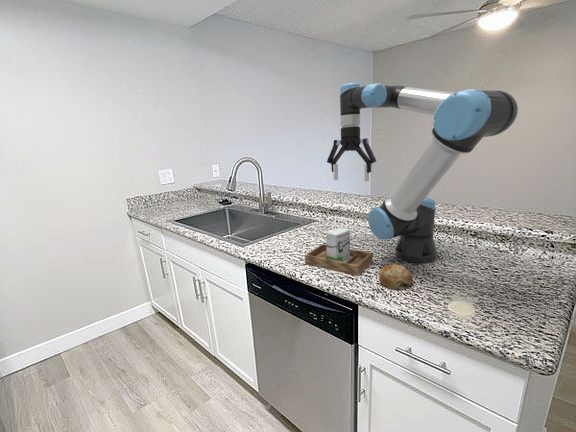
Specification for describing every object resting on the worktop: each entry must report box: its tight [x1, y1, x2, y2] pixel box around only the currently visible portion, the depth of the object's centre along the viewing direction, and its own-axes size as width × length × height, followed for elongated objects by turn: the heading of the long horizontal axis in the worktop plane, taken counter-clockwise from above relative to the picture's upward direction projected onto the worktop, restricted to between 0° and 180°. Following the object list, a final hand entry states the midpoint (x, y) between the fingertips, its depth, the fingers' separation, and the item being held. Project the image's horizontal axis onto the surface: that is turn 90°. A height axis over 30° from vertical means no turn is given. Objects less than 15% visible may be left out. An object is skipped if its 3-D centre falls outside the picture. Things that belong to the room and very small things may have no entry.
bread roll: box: [377, 263, 414, 291], centre depth 98 cm, size 10×10×8 cm
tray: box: [304, 243, 374, 277], centre depth 116 cm, size 22×14×4 cm, turn 54°
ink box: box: [325, 227, 351, 262], centre depth 114 cm, size 9×5×12 cm, turn 131°
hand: (350, 180), depth 124 cm, fingers open, 13 cm apart
